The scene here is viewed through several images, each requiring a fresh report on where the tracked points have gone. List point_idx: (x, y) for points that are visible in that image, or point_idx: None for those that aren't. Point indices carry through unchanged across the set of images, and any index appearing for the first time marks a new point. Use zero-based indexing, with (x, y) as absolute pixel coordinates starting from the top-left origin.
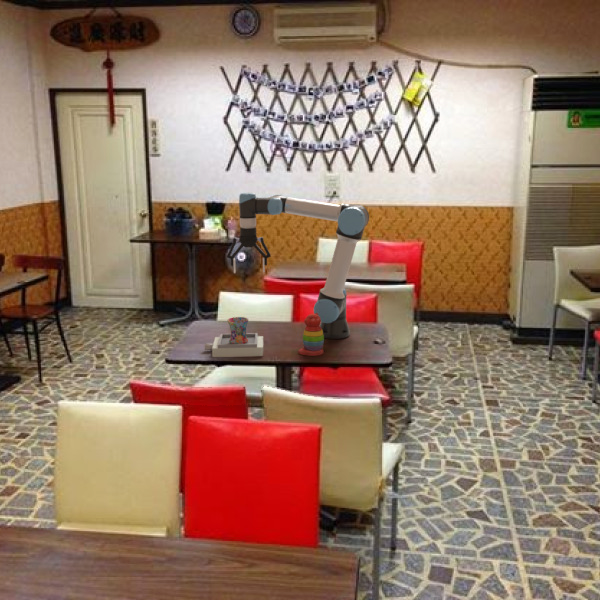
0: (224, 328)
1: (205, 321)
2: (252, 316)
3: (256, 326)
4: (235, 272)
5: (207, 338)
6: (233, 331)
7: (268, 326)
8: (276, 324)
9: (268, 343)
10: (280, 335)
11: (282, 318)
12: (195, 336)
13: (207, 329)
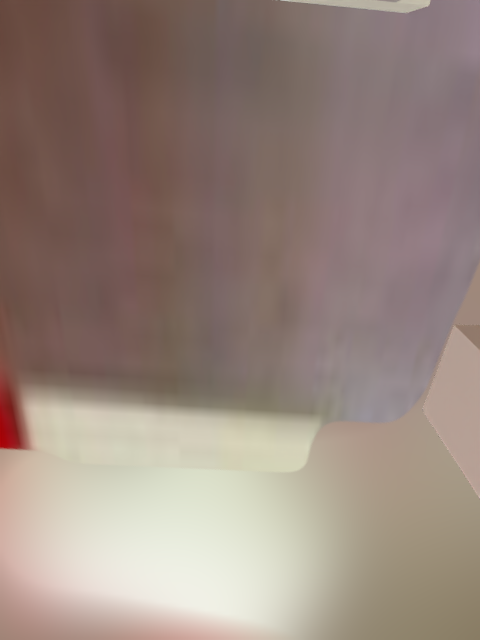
0: (318, 322)
1: (382, 417)
2: (193, 462)
3: (174, 338)
4: (436, 374)
5: (421, 169)
6: None
7: (118, 333)
8: (83, 358)
9: (90, 6)
10: (38, 174)
11: (66, 434)
12: (468, 212)
13: (393, 314)
